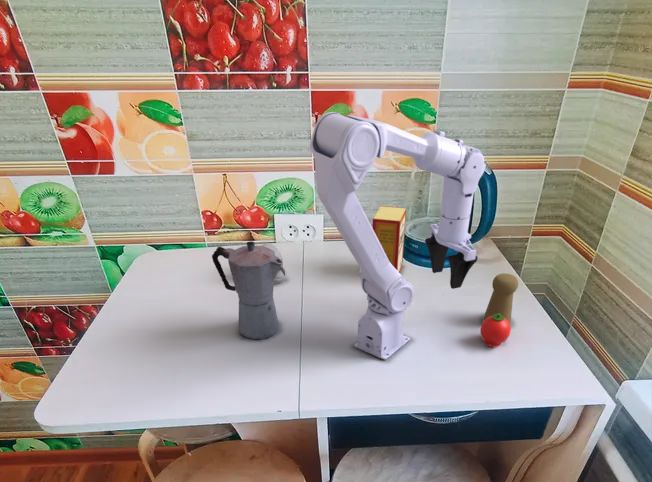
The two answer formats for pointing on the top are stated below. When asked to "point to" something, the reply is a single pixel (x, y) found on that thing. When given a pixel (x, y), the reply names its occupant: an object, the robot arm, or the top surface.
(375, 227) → the baking soda box
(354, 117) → the robot arm
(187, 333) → the top surface
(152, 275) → the top surface
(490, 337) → the tomato
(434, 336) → the top surface
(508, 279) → the tan rounded tall piece
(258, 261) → the moka pot
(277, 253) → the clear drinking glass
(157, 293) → the top surface
